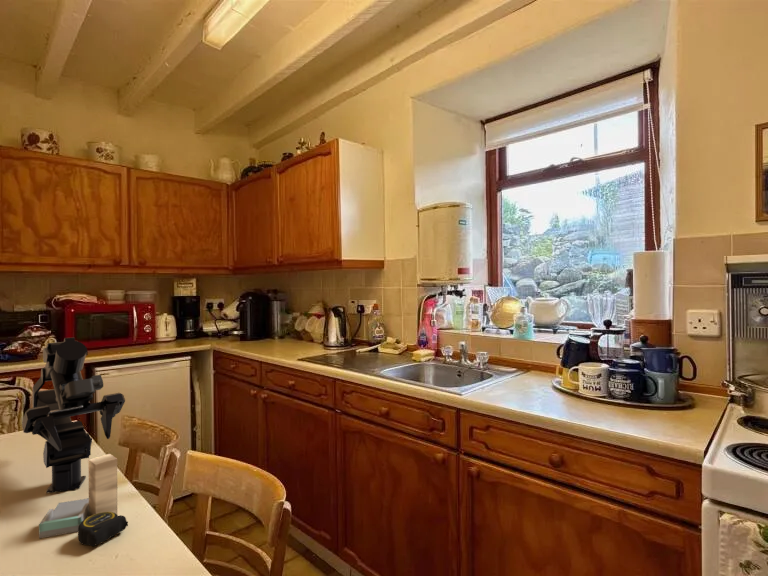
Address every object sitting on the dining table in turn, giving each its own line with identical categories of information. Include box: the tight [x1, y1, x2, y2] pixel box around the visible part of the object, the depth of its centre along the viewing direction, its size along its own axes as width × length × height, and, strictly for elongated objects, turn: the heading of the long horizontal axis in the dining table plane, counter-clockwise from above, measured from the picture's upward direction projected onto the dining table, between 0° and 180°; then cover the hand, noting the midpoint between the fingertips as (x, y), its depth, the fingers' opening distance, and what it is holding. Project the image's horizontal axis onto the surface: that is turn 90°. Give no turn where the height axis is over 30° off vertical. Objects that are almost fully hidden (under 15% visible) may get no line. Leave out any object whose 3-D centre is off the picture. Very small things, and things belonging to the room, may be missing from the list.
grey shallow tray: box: [38, 497, 89, 539], centre depth 90 cm, size 12×7×3 cm, turn 22°
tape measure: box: [77, 512, 129, 547], centre depth 84 cm, size 7×7×4 cm
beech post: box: [87, 453, 119, 517], centre depth 92 cm, size 4×4×12 cm
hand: (85, 443), depth 96 cm, fingers open, 9 cm apart
